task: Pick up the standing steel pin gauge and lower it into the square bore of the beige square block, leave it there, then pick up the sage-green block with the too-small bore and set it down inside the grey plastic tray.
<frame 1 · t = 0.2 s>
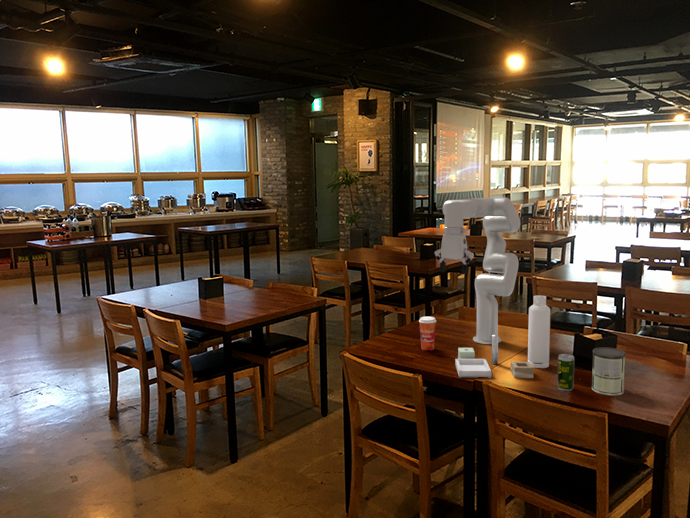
hand: (453, 272, 226), 37 cm above the table, tool pointing down, fingers open, 9 cm apart
green block: (466, 361, 227), on the table
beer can: (565, 389, 195), on the table
steel pin gauge: (494, 363, 223), on the table
bottle: (538, 365, 221), on the table
paper cup: (427, 349, 246), on the table
beige square block: (521, 374, 210), on the table
grey tray: (472, 370, 215), on the table
coffee can: (607, 390, 192), on the table
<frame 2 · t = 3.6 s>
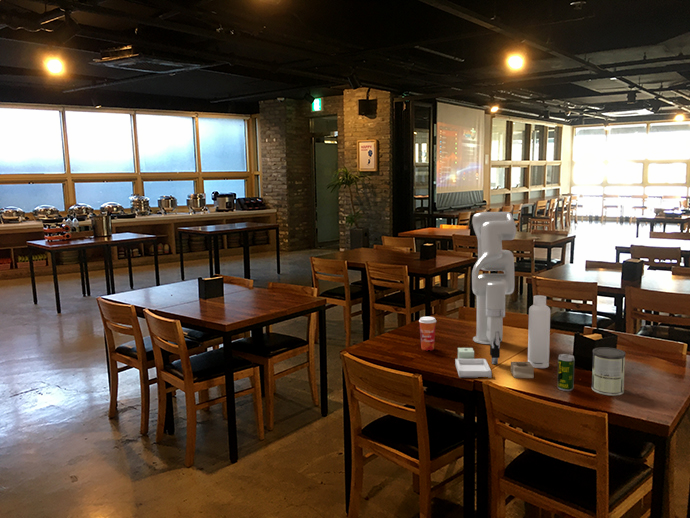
hand: (494, 356, 223), 3 cm above the table, tool pointing down, fingers closed on steel pin gauge, 2 cm apart
steel pin gauge: (494, 363, 223), on the table, touching gripper
everything else where it was.
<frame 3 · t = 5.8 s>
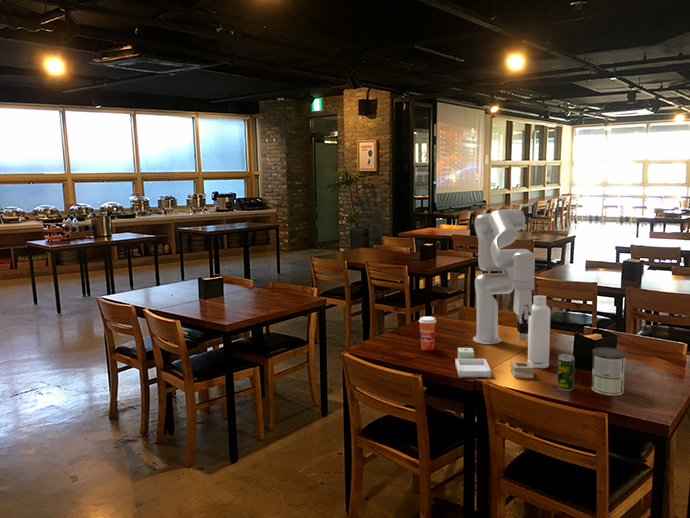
hand: (522, 332, 207), 17 cm above the table, tool pointing down, fingers closed on steel pin gauge
steel pin gauge: (522, 340, 208), point 14 cm above the table, touching gripper
everything else where it was.
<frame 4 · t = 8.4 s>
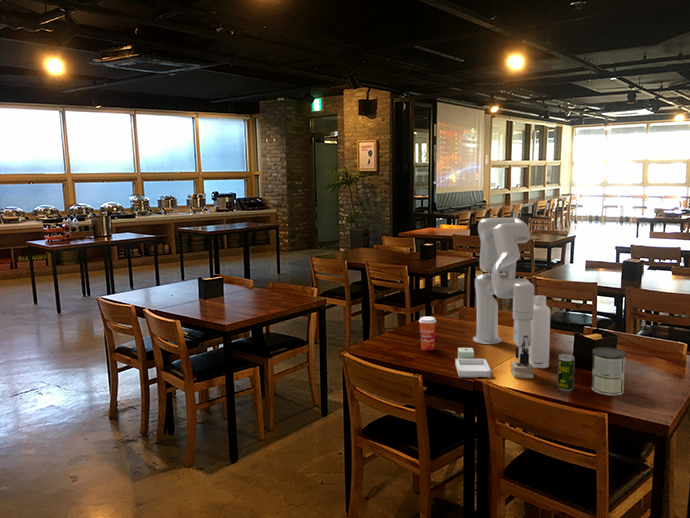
hand: (522, 360, 209), 6 cm above the table, tool pointing down, fingers open, 6 cm apart
steel pin gauge: (521, 374, 210), resting in beige square block
everything else where it was.
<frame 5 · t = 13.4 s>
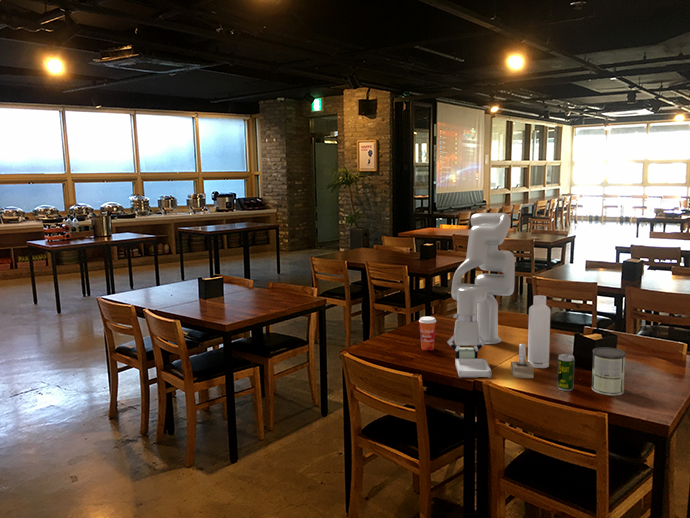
hand: (466, 359, 227), 1 cm above the table, tool pointing down, fingers closed on green block, 6 cm apart
green block: (466, 361, 227), on the table, touching gripper
everything else where it was.
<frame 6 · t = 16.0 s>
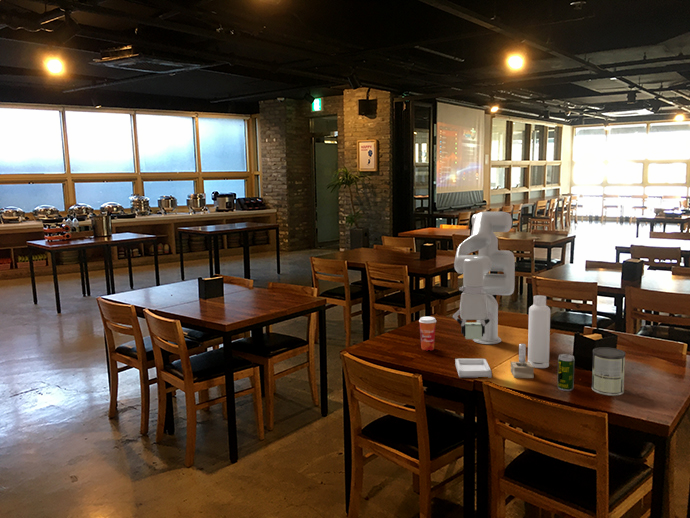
hand: (472, 335, 213), 14 cm above the table, tool pointing down, fingers closed on green block, 6 cm apart
green block: (472, 337, 213), point 14 cm above the table, touching gripper
everything else where it was.
when the fingers open (3 cm above the table, at t = 18.4 s): green block drops 2 cm, resting on grey tray.
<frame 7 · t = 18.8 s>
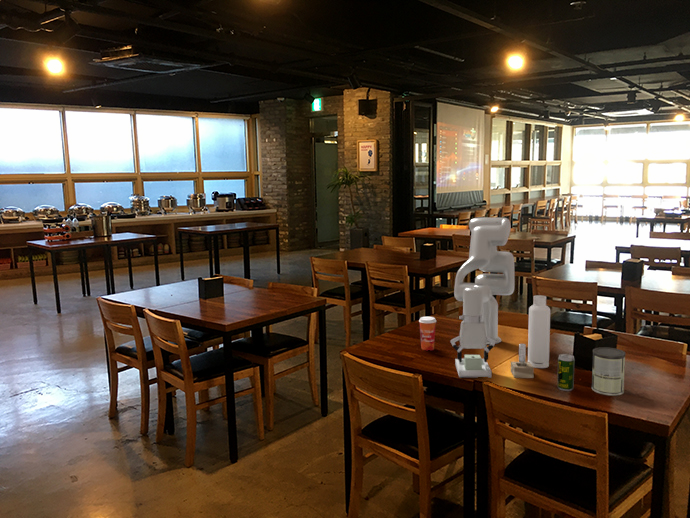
hand: (472, 361, 215), 4 cm above the table, tool pointing down, fingers open, 9 cm apart
green block: (472, 369, 215), point 1 cm above the table, touching grey tray
everything else where it was.
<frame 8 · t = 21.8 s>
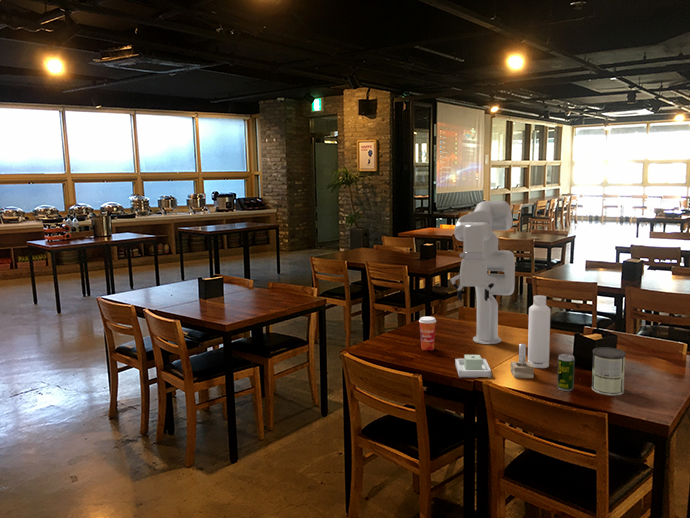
hand: (473, 300, 212), 28 cm above the table, tool pointing down, fingers open, 9 cm apart
nothing on the table moved.
at the end: steel pin gauge 0.1 cm off-centre on the beige square block, point 0.0 cm above the beige square block's base; green block inside the target area on the grey tray (0.1 cm from its centre), point 0.6 cm above the grey tray's base; green block tilted 0° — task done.
